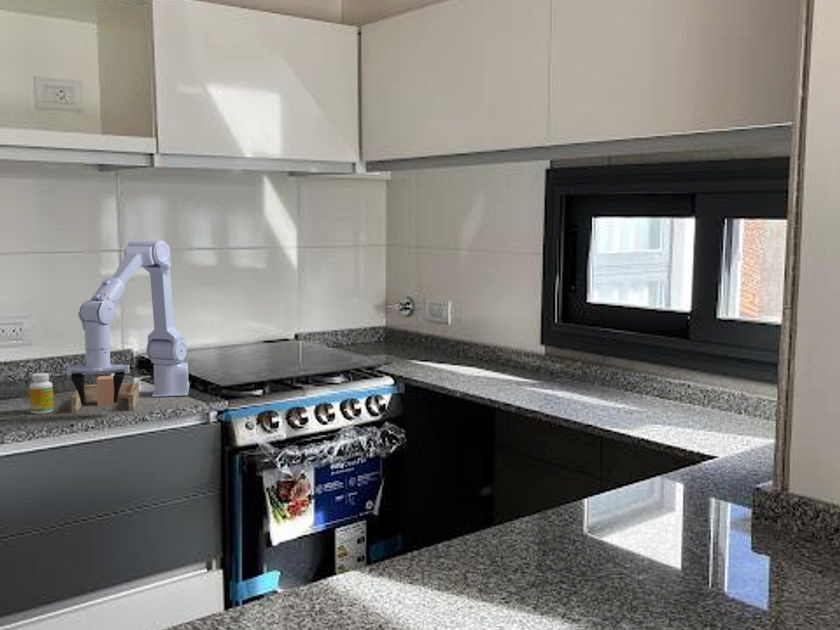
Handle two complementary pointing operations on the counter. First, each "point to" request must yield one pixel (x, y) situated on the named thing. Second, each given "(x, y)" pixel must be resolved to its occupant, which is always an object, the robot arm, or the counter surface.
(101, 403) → the block
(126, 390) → the wooden u-shaped frame
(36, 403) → the supplement bottle
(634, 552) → the counter surface
